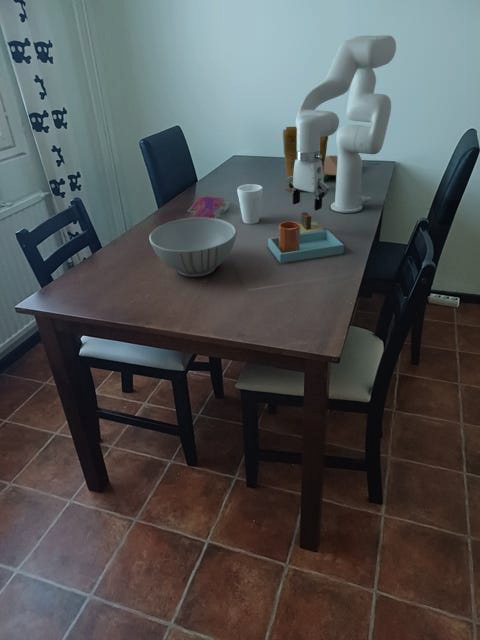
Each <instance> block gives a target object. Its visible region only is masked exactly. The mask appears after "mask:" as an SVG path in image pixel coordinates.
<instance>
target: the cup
mask: <svg viewBox="0 0 480 640" xmlns="http://www.w3.org/2000/svg"><path fill="white" fill-rule="evenodd" d="M300 224H301V223H299V222H298V221H291V220H287V221H283V222H280V223H279V225H278V237H279V250H280V251H281V252H282V253H286V252H293V251H299V250H300Z"/></svg>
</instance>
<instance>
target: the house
mask: <svg viewBox="0 0 480 640" xmlns="http://www.w3.org/2000/svg"><path fill="white" fill-rule="evenodd" d="M337 159H338V155H326V157H325V161H324V172H323V181H324V182H325V181H327V180H328V179H329V178H330V179H331V178H332V179H334V176H337Z"/></svg>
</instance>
